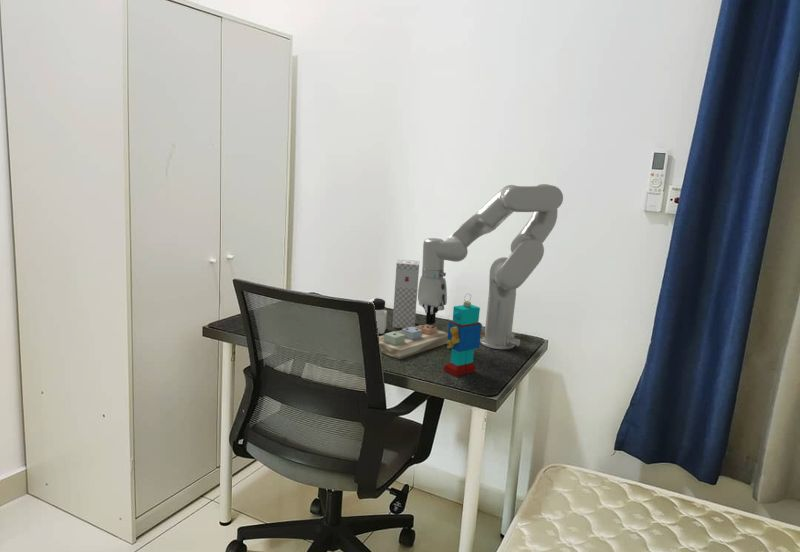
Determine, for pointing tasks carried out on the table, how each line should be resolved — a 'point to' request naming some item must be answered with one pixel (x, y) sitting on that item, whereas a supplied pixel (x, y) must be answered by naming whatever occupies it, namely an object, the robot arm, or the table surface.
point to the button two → (412, 333)
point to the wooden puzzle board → (413, 344)
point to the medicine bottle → (380, 314)
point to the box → (405, 293)
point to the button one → (394, 338)
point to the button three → (428, 329)
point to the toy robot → (463, 338)
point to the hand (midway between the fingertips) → (430, 323)
